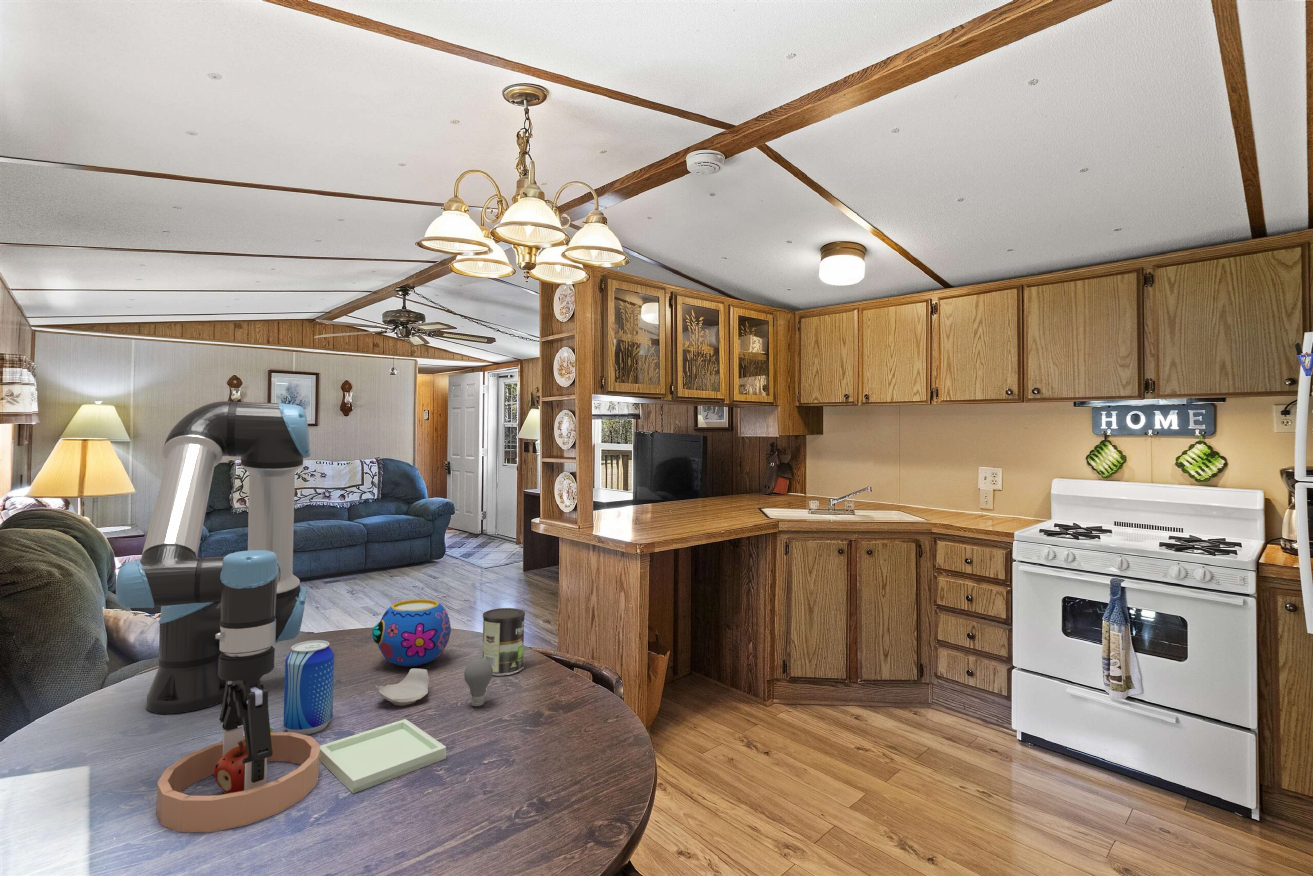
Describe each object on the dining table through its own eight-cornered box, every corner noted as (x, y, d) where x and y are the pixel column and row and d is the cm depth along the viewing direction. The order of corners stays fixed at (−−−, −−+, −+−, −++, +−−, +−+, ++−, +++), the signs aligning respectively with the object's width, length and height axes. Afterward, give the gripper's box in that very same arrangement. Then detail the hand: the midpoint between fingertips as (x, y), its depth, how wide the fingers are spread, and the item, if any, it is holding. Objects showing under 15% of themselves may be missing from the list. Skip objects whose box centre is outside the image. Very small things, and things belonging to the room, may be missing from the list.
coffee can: (527, 662, 160) (528, 608, 161) (518, 677, 150) (519, 619, 150) (488, 661, 161) (489, 607, 161) (475, 676, 150) (477, 618, 150)
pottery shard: (373, 713, 129) (374, 688, 129) (379, 693, 139) (380, 670, 140) (426, 707, 132) (427, 683, 132) (428, 688, 143) (429, 666, 143)
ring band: (146, 790, 99) (147, 762, 99) (294, 745, 114) (294, 721, 114) (173, 852, 84) (174, 819, 84) (338, 791, 100) (339, 763, 100)
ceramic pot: (388, 652, 166) (389, 596, 166) (456, 651, 168) (457, 596, 168) (364, 676, 148) (366, 613, 149) (441, 675, 150) (442, 613, 151)
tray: (317, 758, 110) (317, 746, 110) (405, 729, 122) (405, 719, 122) (353, 793, 99) (353, 781, 99) (446, 758, 111) (446, 747, 111)
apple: (216, 809, 94) (218, 743, 94) (210, 790, 99) (213, 727, 99) (274, 792, 99) (276, 729, 99) (266, 774, 104) (268, 714, 104)
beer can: (310, 739, 117) (313, 654, 117) (272, 734, 118) (275, 650, 119) (341, 720, 125) (344, 640, 125) (305, 715, 127) (308, 637, 127)
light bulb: (476, 714, 129) (477, 665, 129) (457, 707, 132) (458, 660, 133) (498, 704, 134) (499, 657, 134) (478, 697, 138) (480, 652, 138)
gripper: (201, 637, 105) (196, 764, 105) (241, 675, 88) (236, 827, 88) (252, 628, 111) (248, 749, 110) (299, 662, 94) (294, 805, 94)
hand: (243, 784), depth 99 cm, fingers open, 12 cm apart
